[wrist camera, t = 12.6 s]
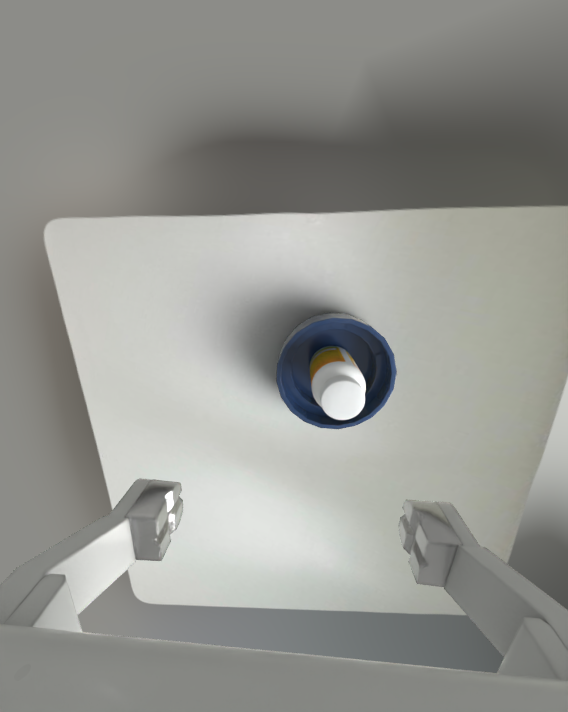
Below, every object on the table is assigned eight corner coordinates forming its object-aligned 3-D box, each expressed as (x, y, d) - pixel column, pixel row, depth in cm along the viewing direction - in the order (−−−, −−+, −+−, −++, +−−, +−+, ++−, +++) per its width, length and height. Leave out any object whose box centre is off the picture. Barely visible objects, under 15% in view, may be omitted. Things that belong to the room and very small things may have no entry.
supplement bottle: (302, 375, 34) (302, 413, 25) (321, 337, 33) (329, 363, 23) (340, 392, 34) (355, 436, 25) (361, 355, 33) (384, 388, 24)
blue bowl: (282, 309, 32) (279, 314, 28) (392, 315, 32) (406, 322, 28) (277, 406, 36) (274, 424, 32) (375, 413, 36) (385, 433, 31)
